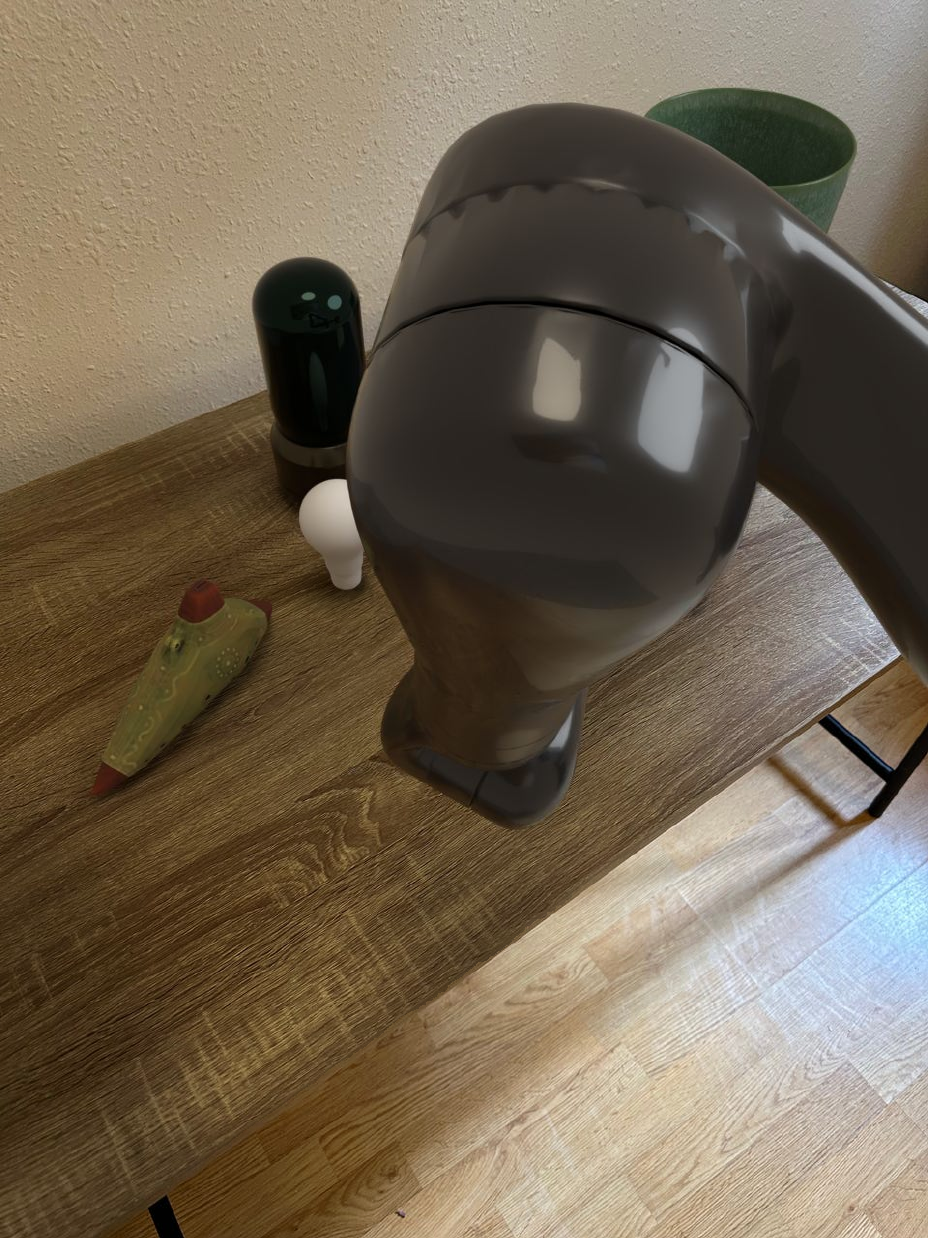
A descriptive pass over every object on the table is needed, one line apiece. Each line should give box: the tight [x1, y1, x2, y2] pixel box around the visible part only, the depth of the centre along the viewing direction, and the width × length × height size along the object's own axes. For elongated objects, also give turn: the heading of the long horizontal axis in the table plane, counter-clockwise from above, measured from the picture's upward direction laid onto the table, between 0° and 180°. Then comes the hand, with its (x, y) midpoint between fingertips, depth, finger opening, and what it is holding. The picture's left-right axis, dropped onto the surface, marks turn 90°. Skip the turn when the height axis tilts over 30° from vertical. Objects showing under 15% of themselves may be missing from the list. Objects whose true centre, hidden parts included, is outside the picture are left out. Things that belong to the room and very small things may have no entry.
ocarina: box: [91, 578, 273, 796], centre depth 73 cm, size 20×5×10 cm, turn 149°
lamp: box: [251, 256, 367, 506], centre depth 84 cm, size 10×10×22 cm
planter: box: [643, 87, 858, 236], centre depth 98 cm, size 20×20×21 cm
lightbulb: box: [298, 479, 365, 591], centre depth 80 cm, size 6×6×11 cm
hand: (689, 390), depth 71 cm, fingers closed on candle, 5 cm apart
